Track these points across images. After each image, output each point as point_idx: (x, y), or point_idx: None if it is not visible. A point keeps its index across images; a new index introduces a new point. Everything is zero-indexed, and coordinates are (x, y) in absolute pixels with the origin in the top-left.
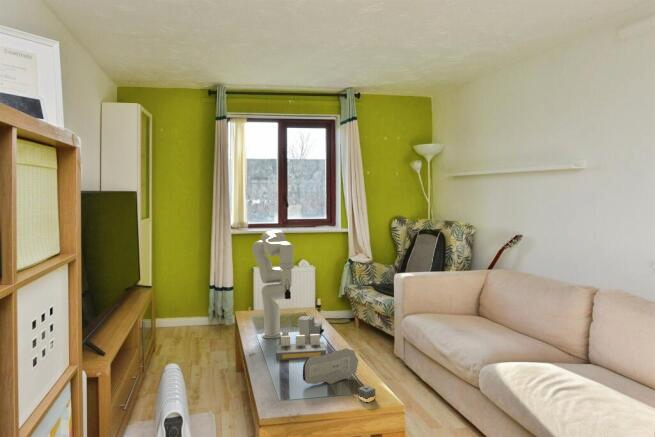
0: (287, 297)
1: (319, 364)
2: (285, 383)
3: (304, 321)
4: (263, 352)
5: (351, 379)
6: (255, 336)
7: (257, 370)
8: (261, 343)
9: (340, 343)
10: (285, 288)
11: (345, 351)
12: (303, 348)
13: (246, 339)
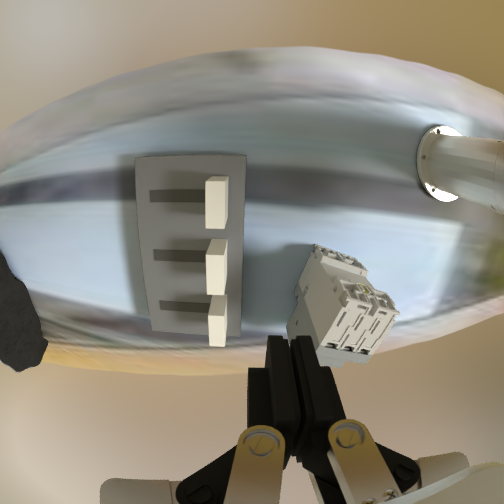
0: (248, 375)
1: None
2: (6, 197)
3: (327, 322)
4: (254, 101)
5: None
6: (449, 105)
7: (73, 105)
8: (373, 106)
9: None
10: (227, 496)
11: (3, 356)
12: (174, 264)
13: (425, 68)
